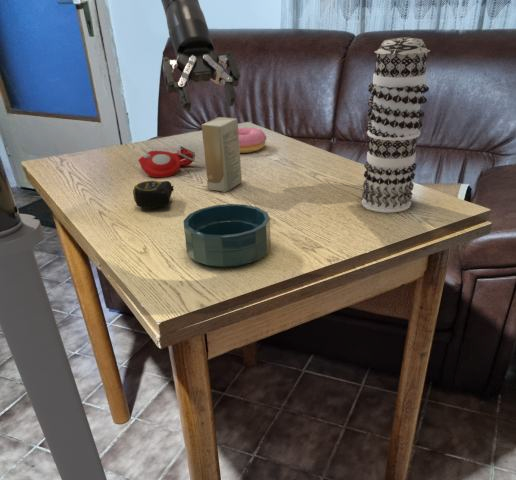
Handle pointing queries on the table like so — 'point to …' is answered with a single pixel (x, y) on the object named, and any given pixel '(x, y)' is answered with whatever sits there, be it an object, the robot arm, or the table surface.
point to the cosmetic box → (222, 153)
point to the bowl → (227, 235)
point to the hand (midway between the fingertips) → (210, 106)
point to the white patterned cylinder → (394, 123)
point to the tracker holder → (166, 162)
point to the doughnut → (251, 139)
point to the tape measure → (152, 194)
